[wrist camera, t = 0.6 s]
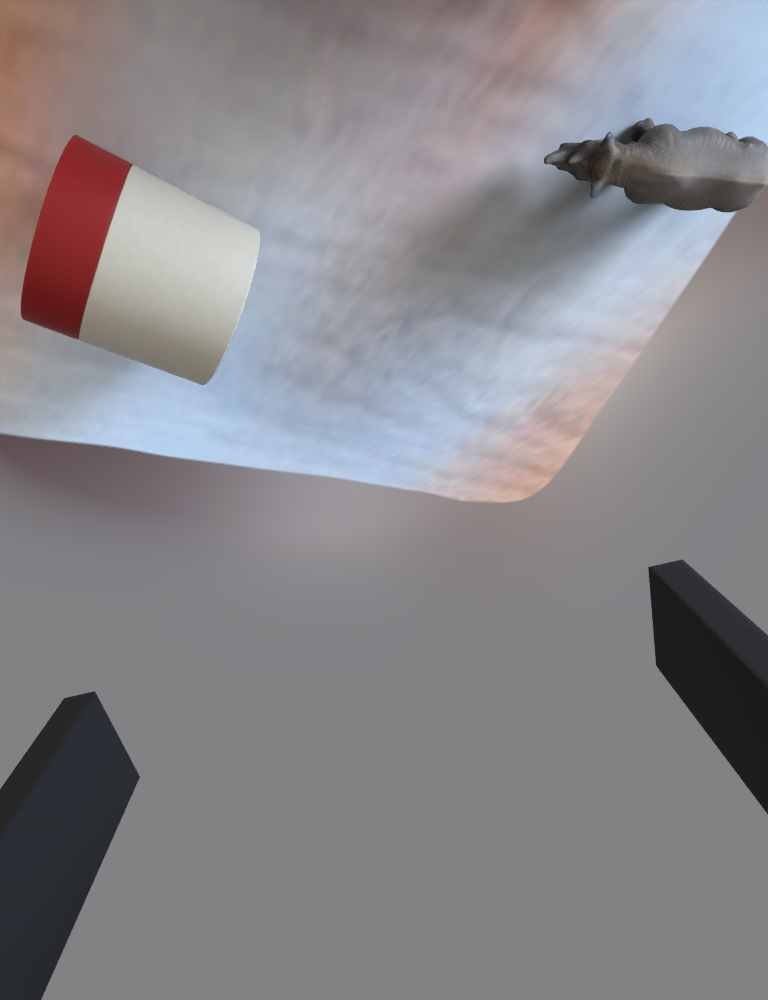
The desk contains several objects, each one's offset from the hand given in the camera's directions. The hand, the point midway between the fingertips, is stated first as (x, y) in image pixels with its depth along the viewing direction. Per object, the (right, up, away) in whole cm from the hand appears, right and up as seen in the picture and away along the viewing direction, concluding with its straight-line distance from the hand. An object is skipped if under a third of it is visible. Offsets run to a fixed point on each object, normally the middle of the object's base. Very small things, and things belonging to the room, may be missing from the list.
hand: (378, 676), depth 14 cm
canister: (-13, +19, +20) cm, 31 cm away
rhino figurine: (+15, +25, +22) cm, 37 cm away
